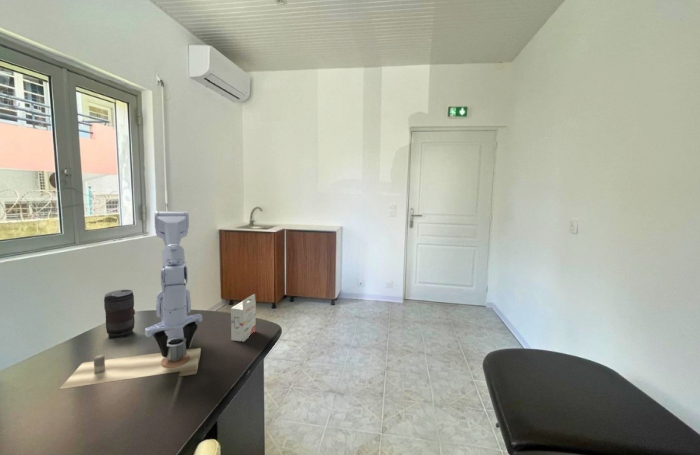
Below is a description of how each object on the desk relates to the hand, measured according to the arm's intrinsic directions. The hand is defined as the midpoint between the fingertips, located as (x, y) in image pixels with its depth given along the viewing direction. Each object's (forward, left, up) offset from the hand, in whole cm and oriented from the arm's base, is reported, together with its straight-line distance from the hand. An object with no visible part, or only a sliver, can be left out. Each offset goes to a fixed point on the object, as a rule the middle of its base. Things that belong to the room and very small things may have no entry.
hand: (175, 351), depth 87 cm
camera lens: (-26, -21, -4) cm, 34 cm away
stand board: (0, -9, -4) cm, 10 cm away
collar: (0, 0, -1) cm, 1 cm away
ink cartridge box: (-14, +19, -4) cm, 24 cm away
